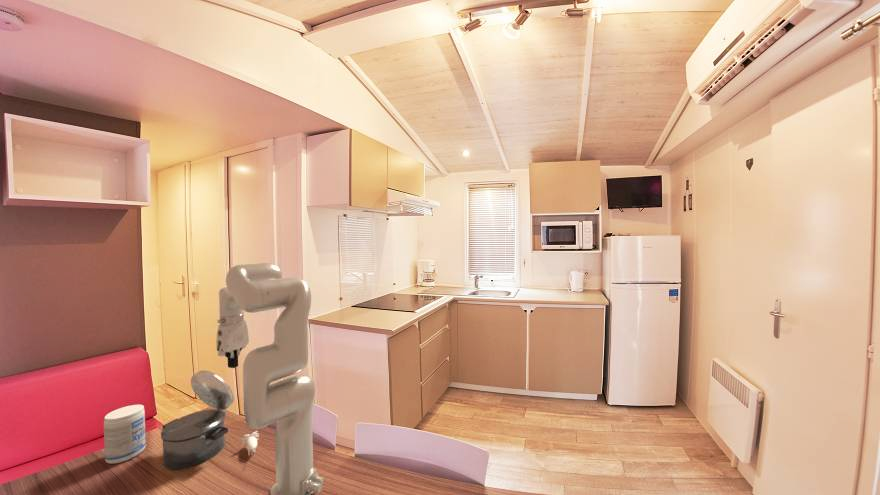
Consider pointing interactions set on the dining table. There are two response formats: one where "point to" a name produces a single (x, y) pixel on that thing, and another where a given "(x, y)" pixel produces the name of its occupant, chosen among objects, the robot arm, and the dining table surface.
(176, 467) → the pot
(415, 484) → the dining table surface
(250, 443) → the white toy bomb
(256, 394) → the robot arm
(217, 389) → the pot lid
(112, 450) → the supplement tub
